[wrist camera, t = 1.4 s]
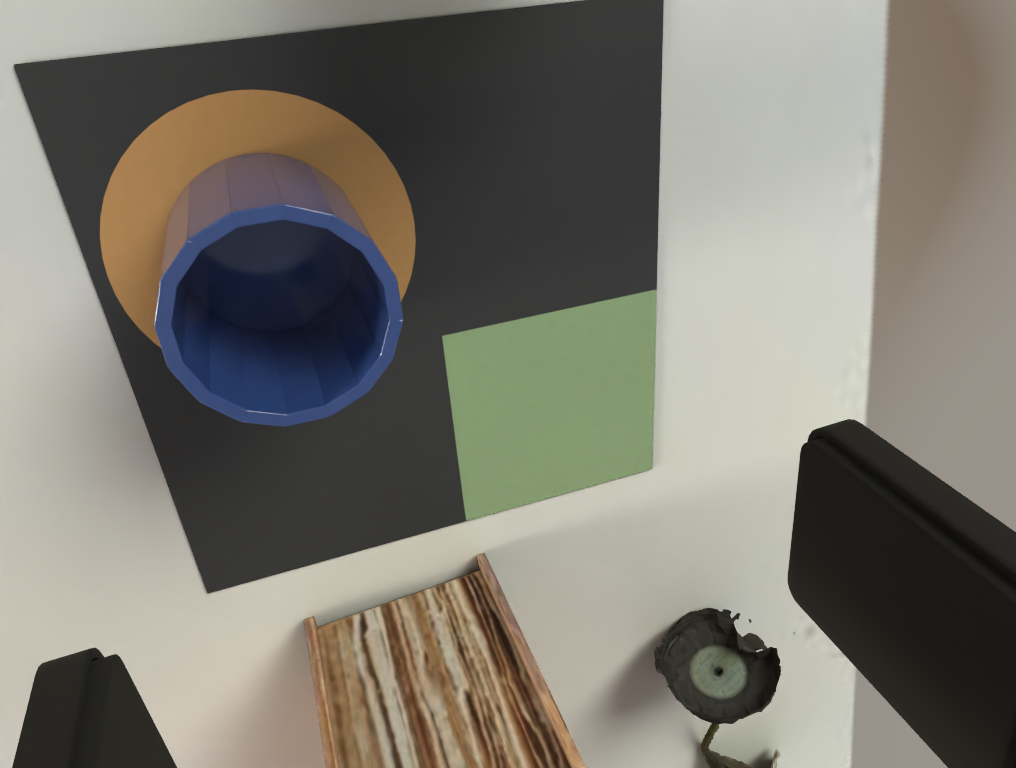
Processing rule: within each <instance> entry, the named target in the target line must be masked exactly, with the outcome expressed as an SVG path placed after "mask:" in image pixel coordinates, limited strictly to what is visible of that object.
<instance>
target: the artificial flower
mask: <svg viewBox="0 0 1016 768" xmlns="http://www.w3.org/2000/svg"><path fill="white" fill-rule="evenodd" d="M730 614H731V611H729V610H725V609H724V610H723V612H720V611H719V610H718V609H713V608H706V609H703V610H699V612H695V611H693V612H690V613H688V614H687V615H686V616H684V617H682V619H681V621H680V623H679V624H678V626H677V627H674V628H672V630H671V631H670V632H668V634H667V635H666V637H665V639H663V642H662V645H661V646H660V647H656V648H657V649H655V651H654V653H655V659H656V660H655V667H656V670H657V672H658V673H662V674H663V675H664V676H665V678H666V681H667V683H668V685H669V688H670V689H671V691H672V692H673V694H674V696H675V697H676V699H677V700H679V702H681V703H682V704H683V705H684V707H685V708H686V709H688V710H689V711H690V712H691V713H692V714H693V715H696V716H697V717H699V718H700V719H702V720H705V721H708V722H710V723H712V724H711V726H710V728H709V729H708V731H707V733H706V735H705V737H704V739H703V742H702V744H701V747H702V752H703V755H704V757H705V759H706V761H707V763H708V764H709V766H710V768H753V767H751V766H749V765H746V764H744V763H743V762H742V761H741V762H739V761H737V760H735V759H731V758H730V757H727V756H720V754H718V753H716V752H713V751H710V750H709V748H708V747H709V744H710V743H711V740H712V739H713V736H714V734H715V732H717V729H719V724H723V723H727V724H733V723H735V722H736V721H737V720H739V719H743V718H745V717H747V716H749V715H752V714H754V713H756V712H762V710H763V709H764V708H765V707H766V706H767V705H768V704H769V703H770V702H771V700H772V697H773V696H774V693H775V692H776V686H777V684H778V681H779V677H780V674H781V673H780V672H781V668H780V667H781V666H779V664H780V659H779V657H778V654H777V648H772V647H770V648H767V647H766V646H765V645H764V642H763V641H762V640H761V639H760V638H759V637H758V636H757V635H755V634H752V633H748V634H747V635H745V636H744V637H742V636H741V635H740V634H738V633H737V631H736V628H735V626H734V621H735V620H736V619H739V616H740V614H739V613H737V614H736V615H735V616H734V617H733V618H732V619H731V617H730ZM749 622H750V623H751V620H750V619H749ZM794 633H795V632H794ZM759 649H763V650H762V651H759V652H756V650H759ZM667 687H668V686H667ZM779 757H780V752H779V751H778V750H777V749H776V751H775V754H774V757H773V761H772V764H771V767H770V768H777V759H778V758H779Z"/></svg>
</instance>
